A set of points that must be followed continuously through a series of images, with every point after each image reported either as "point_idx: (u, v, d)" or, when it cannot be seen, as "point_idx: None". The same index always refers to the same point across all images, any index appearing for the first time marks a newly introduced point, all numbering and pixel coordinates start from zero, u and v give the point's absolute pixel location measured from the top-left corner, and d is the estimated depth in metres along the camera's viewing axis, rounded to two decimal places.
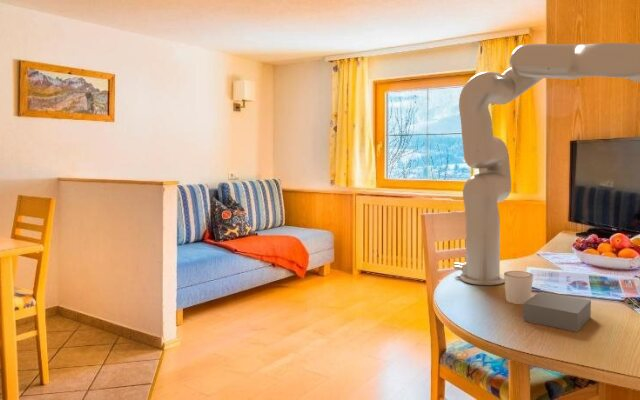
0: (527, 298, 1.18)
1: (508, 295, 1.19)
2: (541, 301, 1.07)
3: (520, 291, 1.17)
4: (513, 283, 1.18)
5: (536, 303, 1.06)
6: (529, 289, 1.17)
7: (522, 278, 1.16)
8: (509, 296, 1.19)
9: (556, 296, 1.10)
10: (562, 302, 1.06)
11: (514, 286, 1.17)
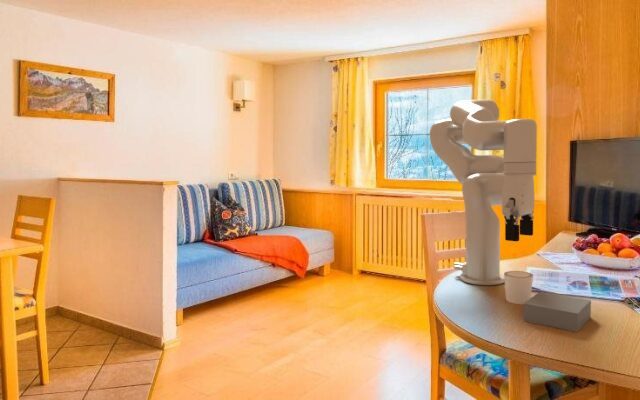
0: (527, 298, 1.18)
1: (508, 295, 1.19)
2: (541, 301, 1.07)
3: (520, 291, 1.17)
4: (513, 283, 1.18)
5: (536, 303, 1.06)
6: (529, 289, 1.17)
7: (522, 278, 1.16)
8: (509, 296, 1.19)
9: (556, 296, 1.10)
10: (562, 302, 1.06)
11: (514, 286, 1.17)
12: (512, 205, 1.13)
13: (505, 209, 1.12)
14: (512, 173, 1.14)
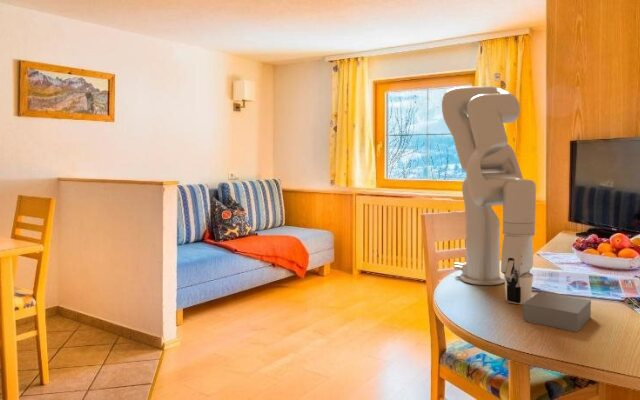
0: (527, 298, 1.18)
1: None
2: (541, 301, 1.07)
3: None
4: None
5: (536, 303, 1.06)
6: (529, 289, 1.17)
7: (522, 278, 1.16)
8: None
9: (556, 296, 1.10)
10: (562, 302, 1.06)
11: None
12: (512, 269, 1.15)
13: (506, 276, 1.14)
14: (511, 233, 1.16)
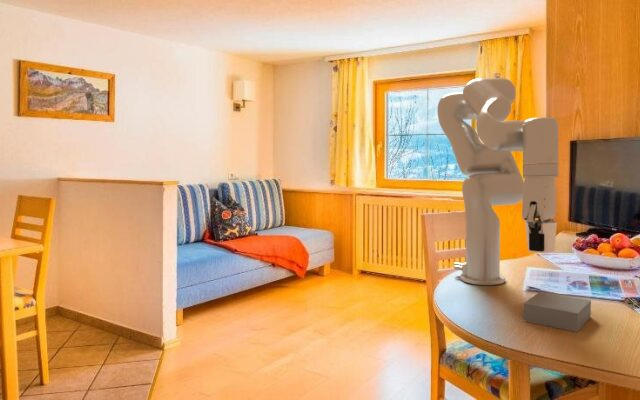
0: (551, 246, 1.08)
1: None
2: (541, 301, 1.07)
3: (544, 238, 1.07)
4: None
5: (536, 303, 1.06)
6: (553, 236, 1.08)
7: (545, 224, 1.07)
8: None
9: (556, 296, 1.10)
10: (562, 302, 1.06)
11: None
12: (535, 213, 1.06)
13: (528, 221, 1.05)
14: (533, 175, 1.07)
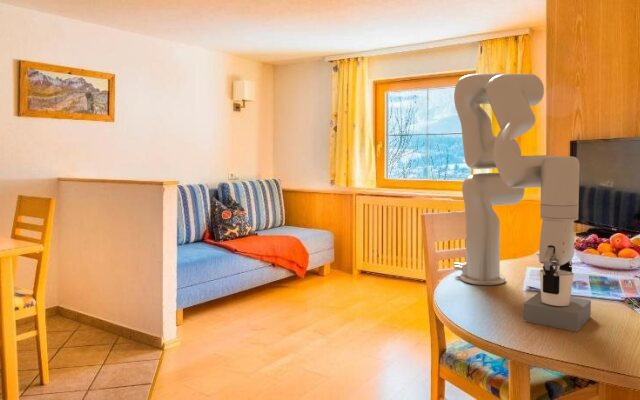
0: (567, 299, 1.03)
1: (544, 295, 1.05)
2: (541, 301, 1.07)
3: (559, 291, 1.02)
4: None
5: (536, 303, 1.06)
6: (569, 289, 1.03)
7: (562, 276, 1.02)
8: (546, 296, 1.04)
9: None
10: None
11: None
12: (552, 254, 1.00)
13: (544, 260, 0.99)
14: (551, 217, 1.02)
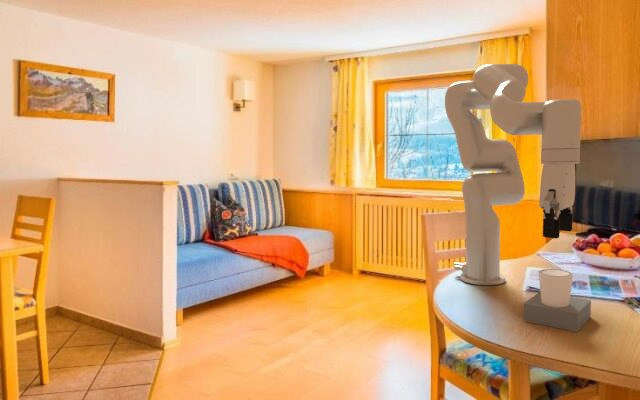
0: (566, 300, 1.03)
1: (544, 297, 1.04)
2: None
3: (559, 292, 1.02)
4: (551, 283, 1.03)
5: (536, 303, 1.06)
6: (569, 290, 1.03)
7: (561, 277, 1.02)
8: (546, 298, 1.04)
9: None
10: None
11: (552, 287, 1.03)
12: (552, 197, 0.99)
13: (545, 202, 0.98)
14: (552, 161, 1.01)
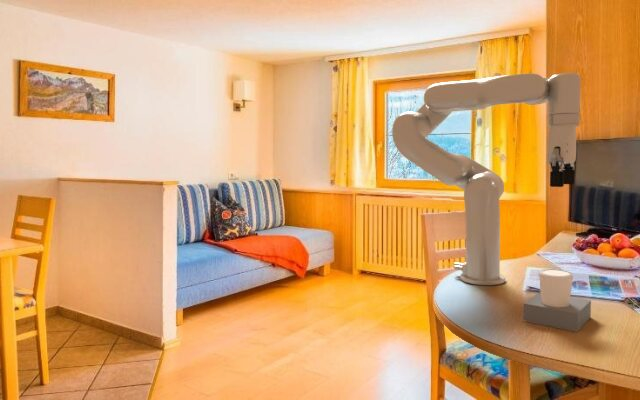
0: (567, 300, 1.03)
1: (544, 297, 1.04)
2: None
3: (559, 292, 1.02)
4: (551, 283, 1.03)
5: (536, 303, 1.06)
6: (569, 290, 1.03)
7: (561, 277, 1.02)
8: (546, 298, 1.04)
9: None
10: None
11: (552, 287, 1.03)
12: (558, 153, 1.21)
13: (551, 156, 1.20)
14: (557, 124, 1.23)
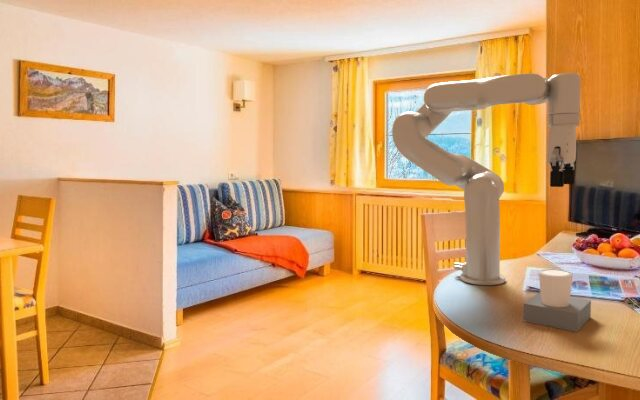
0: (566, 300, 1.03)
1: (544, 297, 1.05)
2: None
3: (559, 292, 1.02)
4: (551, 283, 1.03)
5: (536, 303, 1.06)
6: (569, 290, 1.03)
7: (561, 277, 1.02)
8: (546, 298, 1.04)
9: None
10: None
11: (552, 286, 1.03)
12: (558, 153, 1.21)
13: (552, 156, 1.20)
14: (557, 124, 1.23)
